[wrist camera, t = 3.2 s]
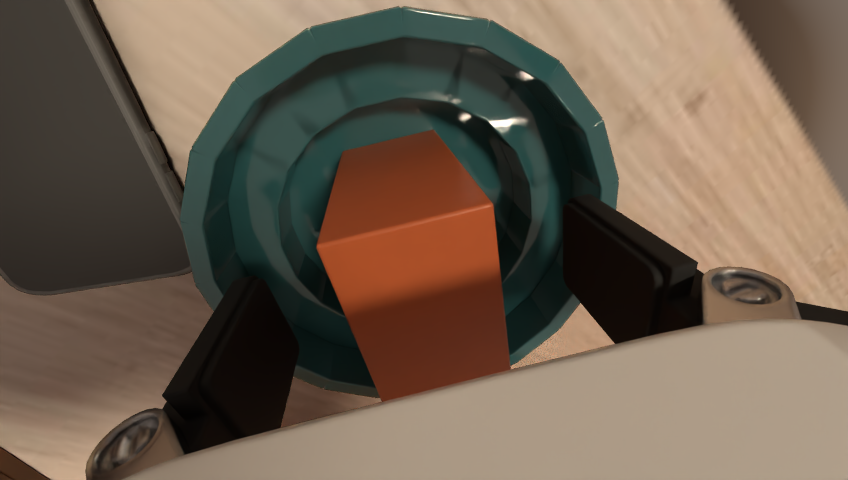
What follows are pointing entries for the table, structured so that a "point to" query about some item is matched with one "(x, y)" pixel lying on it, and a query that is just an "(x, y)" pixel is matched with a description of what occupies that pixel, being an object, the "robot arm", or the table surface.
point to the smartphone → (78, 160)
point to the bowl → (380, 121)
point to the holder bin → (16, 469)
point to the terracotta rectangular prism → (415, 265)
